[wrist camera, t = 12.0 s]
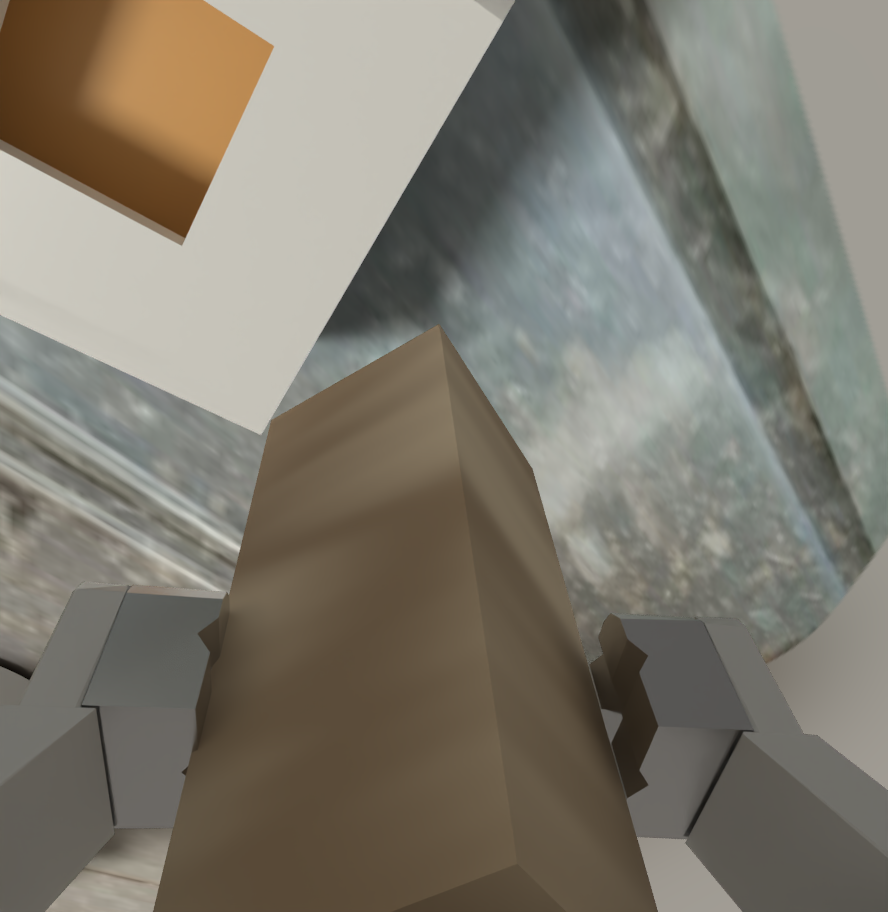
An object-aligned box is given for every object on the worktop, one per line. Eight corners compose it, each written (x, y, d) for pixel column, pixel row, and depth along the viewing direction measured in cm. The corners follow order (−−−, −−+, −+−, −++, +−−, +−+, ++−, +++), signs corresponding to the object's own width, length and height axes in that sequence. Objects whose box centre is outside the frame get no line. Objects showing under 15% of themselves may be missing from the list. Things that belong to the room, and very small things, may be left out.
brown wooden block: (378, 547, 14) (371, 1134, 7) (270, 420, 12) (130, 1010, 5) (532, 468, 13) (694, 1036, 6) (439, 323, 11) (516, 863, 5)
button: (238, 242, 26) (224, 271, 24) (-11, 107, 24) (-54, 124, 21) (354, 10, 23) (351, 17, 21) (78, -180, 20) (39, -197, 18)
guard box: (284, 338, 30) (261, 435, 24) (-118, 132, 25) (-270, 189, 19) (490, -29, 24) (527, -21, 18) (13, -393, 19) (-149, -544, 13)
